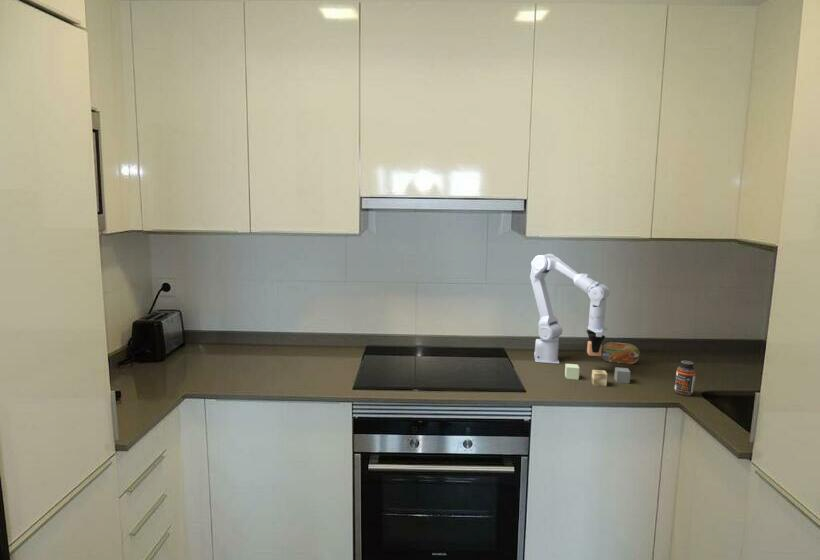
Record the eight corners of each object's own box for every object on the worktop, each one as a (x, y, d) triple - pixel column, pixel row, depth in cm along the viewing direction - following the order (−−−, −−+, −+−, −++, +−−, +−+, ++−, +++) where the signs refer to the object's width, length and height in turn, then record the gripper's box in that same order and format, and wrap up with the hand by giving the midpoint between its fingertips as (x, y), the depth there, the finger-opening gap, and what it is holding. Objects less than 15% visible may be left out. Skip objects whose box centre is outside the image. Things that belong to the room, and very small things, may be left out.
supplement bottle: (672, 393, 185) (676, 362, 183) (675, 388, 190) (678, 358, 188) (692, 397, 182) (695, 365, 180) (694, 392, 187) (697, 361, 185)
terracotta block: (588, 355, 204) (589, 343, 203) (587, 351, 209) (587, 340, 208) (600, 356, 203) (601, 344, 203) (598, 352, 208) (599, 341, 207)
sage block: (566, 378, 198) (566, 367, 197) (564, 374, 202) (565, 363, 202) (578, 379, 197) (579, 368, 197) (576, 375, 202) (577, 364, 201)
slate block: (616, 382, 195) (617, 371, 194) (614, 378, 199) (615, 367, 199) (629, 383, 194) (630, 372, 194) (626, 379, 199) (627, 368, 198)
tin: (600, 361, 220) (601, 341, 219) (599, 359, 223) (601, 339, 222) (639, 365, 216) (641, 345, 214) (638, 363, 219) (640, 343, 217)
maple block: (593, 385, 192) (594, 373, 191) (591, 381, 196) (592, 369, 195) (606, 386, 191) (607, 374, 190) (604, 382, 195) (605, 370, 195)
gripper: (611, 321, 196) (608, 356, 198) (604, 312, 210) (601, 346, 212) (591, 319, 197) (588, 355, 199) (585, 311, 211) (583, 344, 213)
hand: (594, 350), depth 206 cm, fingers closed on terracotta block, 4 cm apart
